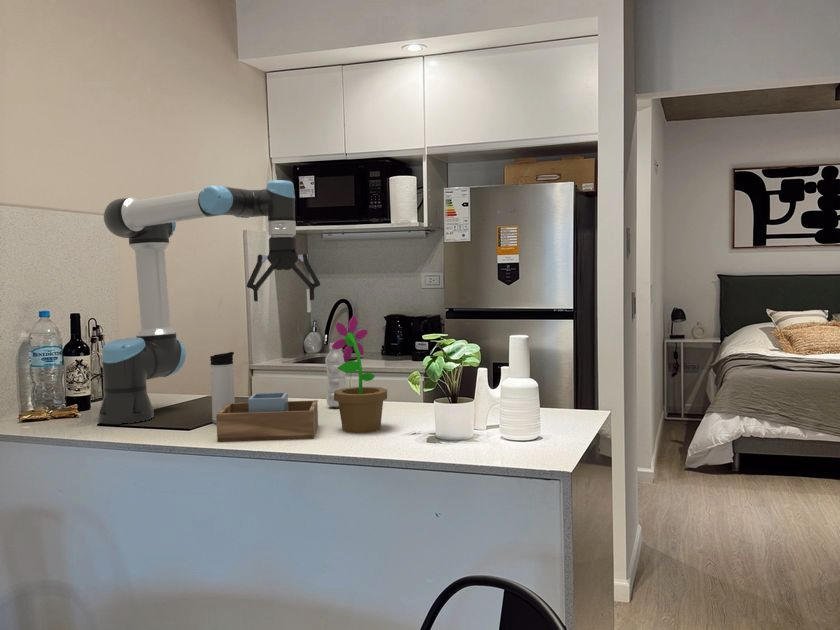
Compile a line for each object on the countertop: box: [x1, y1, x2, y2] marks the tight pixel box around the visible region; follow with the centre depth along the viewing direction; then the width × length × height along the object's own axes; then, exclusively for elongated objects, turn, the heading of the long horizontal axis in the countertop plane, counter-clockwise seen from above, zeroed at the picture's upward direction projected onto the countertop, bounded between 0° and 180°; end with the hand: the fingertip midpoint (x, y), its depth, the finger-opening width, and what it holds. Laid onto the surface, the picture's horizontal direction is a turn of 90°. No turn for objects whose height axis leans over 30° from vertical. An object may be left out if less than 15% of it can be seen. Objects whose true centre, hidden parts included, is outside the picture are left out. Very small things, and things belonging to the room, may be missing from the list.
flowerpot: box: [332, 315, 388, 434], centre depth 205 cm, size 14×14×30 cm
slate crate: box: [247, 392, 289, 413], centre depth 202 cm, size 9×9×9 cm
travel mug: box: [209, 351, 236, 425], centre depth 218 cm, size 6×7×20 cm
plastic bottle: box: [324, 342, 347, 409], centre depth 237 cm, size 6×7×20 cm
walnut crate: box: [216, 399, 319, 443], centre depth 202 cm, size 16×24×7 cm, turn 93°
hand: (284, 312), depth 216 cm, fingers open, 13 cm apart
